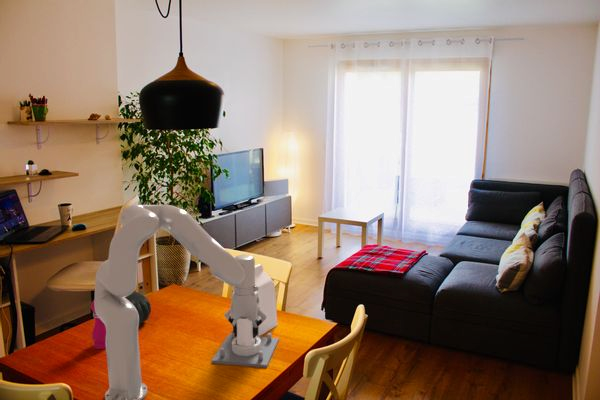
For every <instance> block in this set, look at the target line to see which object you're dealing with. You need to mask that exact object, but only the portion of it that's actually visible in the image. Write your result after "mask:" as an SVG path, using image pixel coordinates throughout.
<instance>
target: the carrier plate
mask: <svg viewBox="0 0 600 400" xmlns="http://www.w3.org/2000/svg"><path fill="white" fill-rule="evenodd" d="M266 333H267V334H266V335H267V336H256V337H255V344H254V345H252V346H247V347H244V346H239V345H237V336H236V337H235V336H234V333H233V330H231V333H228V335H227V336H226V338H225V339H224V340H223V342H222V344H221V346H220V347H219V349H218V350H217V352H216V353H215V354H214V356H213V358H212V359H211V364H220V365H230V366H231V365H233V366H244V367H254V368H255V367H256V368H268V366H269V364H270V361H271V359H272V357H273V355H274V352H275V350H276V348H277V345H278V343H279V341H280V339H279V337H272V333H271V332H266Z"/></svg>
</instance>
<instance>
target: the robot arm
mask: <svg viewBox="0 0 600 400" xmlns="http://www.w3.org/2000/svg"><path fill="white" fill-rule="evenodd" d="M119 222H120V225H121V227H120V228H119V229H118V230H117V231H116V233H115V234H114V235H113V237H112V238H111V242H110V244H109V250H108V258H107V259H106V260H104V261H103V262H101V264H100V265H99V267H98V268H97V271H96V273H95V281H94V299H93V301H94V307H95V312H96V314H97V316H98V317H99V319H100V320H101V321H102V322H103V323H104V324H105V326H106V348H105V352H106V361H107V373H108V384H109V388H108V390H106V392H105V393H104V400H143V399H144V398H145V397H146V395H147V393H148V386H147V385H146V383H144V382H142V371H141V370H142V369H141V355H140V346H139V327H140V325H139V314H138V311H137V309H136V308H135V306H134V305H133V304H132V303H131V302H130V301H129V300H127V299H126V298H125V297H127V296H129V295H131V294H132V293H133V292H135V290H136V288H137V285H138V273H139V272H138V269H139V256H140V251H141V248H142V246H143V244H144V243H146V242H147V241H148V240H149V239H150V238H151V237H153V236H154V235H155V234H156V233H157V232H158V231H159V230H164V231H165V232H168V233H169V234H170V235H171V236H172V237H173V238H174V239H175V240H176V241H177V242H178V243H179V244H181V246H182V247H184V248H185V250H187V251H188V252H189V254H190V255H192V256H193V257H194V258H195V259H197V260H199V261H200V262H201V263H204V265H206V266H209V269H210V270H209V271H210V273H211V275H212V277H214V278H216V279H218V280H219V281H221V282H223V283H225V284H227V285H229V286H231V287H233V289H234V290H233V292H232V294H231V300H230V301H231V302H230V308H229V309H228V310H227V311H226V312H225V313H224V318H225V319H226V320H227V321H228V322H229V323H230V324H231V325H232V331H233V333H234V336H235V337H236V336H237V320H238V319H239V317H240V318H248V319H249V320H250V321H252V323H253V325H254V327H253V338H255V337H256V336H257V335H258V326H259V325H260V324H261V323H262V322H263V321H264V320H265V319H266V318H267V316H266V315H265V314H264V313H263V312H262V311H261V310H260V303H259V296H258V292H257V291H259V287H256V284H255V266H256V262H255V258H254V256H252V255H251V254H239V255H236V256H234V255H232V254H231V253H230V252H229V251H227V250H226V249H225V248H224V247H223V246H222V245H221V244H220V243H219V242H217V240H216V239H214V238H213V237H212V236H211V235H210V234H209V233H208V232H207V231H206V230H205V229H204V228H203V227H202V226H201V225H200V224H199V223H198V221H196V220H195V218H193V217H192V215H191V214H190V213H188V212H187V210H184V208H180V207H178V206H175V205H172V204H171V205H170V204H131V205H129V206H126V207H125V208H124V209H122V211H121V213H120V215H119ZM258 316H260V317H261V319H260V320H259V321H258ZM257 337H258V336H257Z"/></svg>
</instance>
